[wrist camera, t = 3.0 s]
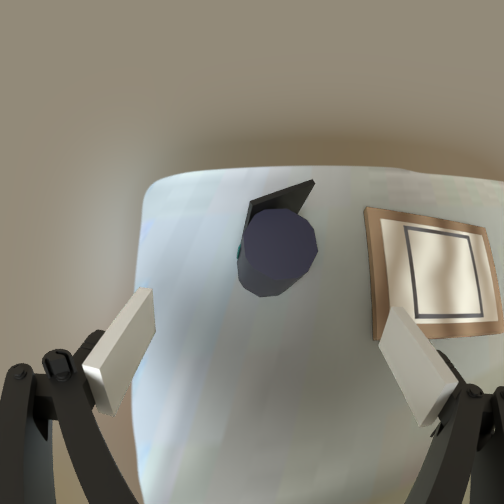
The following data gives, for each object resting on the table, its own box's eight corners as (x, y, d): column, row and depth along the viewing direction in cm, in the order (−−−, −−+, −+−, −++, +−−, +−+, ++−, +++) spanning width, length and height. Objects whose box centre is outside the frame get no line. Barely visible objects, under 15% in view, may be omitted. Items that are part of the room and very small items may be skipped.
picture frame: (481, 231, 34) (486, 227, 33) (499, 333, 27) (506, 331, 26) (363, 211, 34) (367, 205, 32) (373, 340, 27) (378, 338, 26)
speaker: (232, 230, 31) (238, 174, 22) (286, 229, 32) (313, 174, 22) (237, 303, 29) (246, 274, 19) (295, 299, 30) (331, 269, 20)
